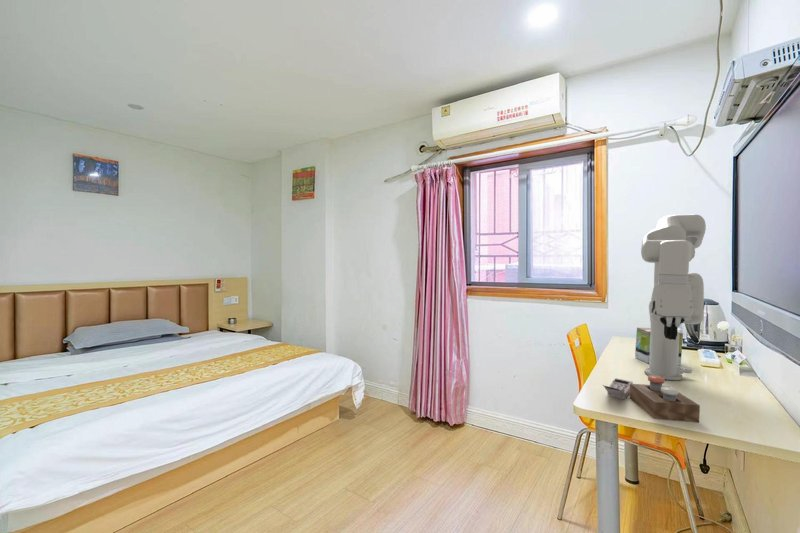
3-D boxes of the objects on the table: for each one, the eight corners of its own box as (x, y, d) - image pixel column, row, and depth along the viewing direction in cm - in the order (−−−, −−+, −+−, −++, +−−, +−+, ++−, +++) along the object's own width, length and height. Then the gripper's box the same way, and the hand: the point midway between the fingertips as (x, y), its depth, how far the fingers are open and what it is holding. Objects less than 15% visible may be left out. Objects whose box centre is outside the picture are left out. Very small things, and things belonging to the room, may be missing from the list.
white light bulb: (672, 409, 114) (673, 387, 114) (681, 416, 110) (682, 392, 110) (657, 408, 115) (658, 385, 115) (664, 414, 111) (665, 391, 110)
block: (668, 400, 123) (669, 386, 123) (699, 422, 107) (699, 405, 107) (629, 398, 125) (630, 383, 125) (653, 418, 109) (654, 402, 109)
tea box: (647, 363, 166) (649, 331, 166) (634, 357, 176) (635, 327, 176) (682, 364, 166) (683, 332, 165) (666, 358, 176) (667, 327, 175)
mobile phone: (602, 385, 121) (616, 367, 140) (601, 402, 122) (615, 382, 141) (623, 389, 117) (635, 371, 137) (622, 408, 118) (634, 386, 137)
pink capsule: (659, 397, 122) (660, 375, 122) (666, 402, 118) (667, 380, 117) (644, 396, 123) (645, 374, 123) (651, 401, 118) (652, 379, 118)
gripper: (692, 279, 117) (689, 336, 118) (640, 278, 119) (638, 334, 120) (707, 281, 109) (704, 342, 110) (652, 280, 112) (650, 340, 113)
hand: (670, 338), depth 115 cm, fingers closed
